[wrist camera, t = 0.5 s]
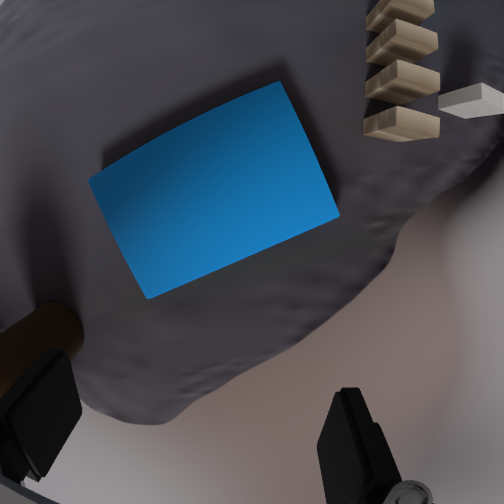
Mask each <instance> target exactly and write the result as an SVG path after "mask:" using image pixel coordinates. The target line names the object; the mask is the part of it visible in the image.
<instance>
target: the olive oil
mask: <svg viewBox="0 0 504 504" xmlns="http://www.w3.org/2000/svg"><path fill="white" fill-rule="evenodd" d="M83 342H84V334H83V330H82V327H81V325H80V323H79V321H78V319H77V318H76V316H75V315H74V314H73V313H72V312H71V311H70V310H69V309H68V308H67V307H65V306H64V305H62V304H60V303H57V302H47V303H45V304H43V305H42V306H40V307H39V308H37V309H36V310H34V311H33V312H32V313H30V314H29V315H27V316H26V317H24V318H23V319H21V320H20V321H18V322H17V323H15V324H14V325H12V326H11V327H10V328H8V329H7V330H5V331H4V332H2V333H1V334H0V398H1V397H2V396H3V394H4V393H5V392H6V391H7V390H8V389H9V388H10V387H11V386H12V385H13V384H14V382H15V381H16V380H17V379H18V378H19V377H20V376H21V375H22V374H23V373H24V372H25V371H26V370H27V369H28V368H29V367H30V366H31V365H32V364H33V362H34V361H35V360H36V359H37V358H38V357H39V356H40V355H41V354H42V353H43V352H44V351H45V350H46V349H47V348H48V347H50V346H52V347H56V348H59V349H63V350H65V352H66V354H67V355H68V356H69V358H70V362H71V361H72V359H73V358H74V357H75V355H76V354H77V353H78V352H79V350H80V349H81V347H82V345H83Z"/></svg>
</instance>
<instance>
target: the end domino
mask: <svg viewBox="0 0 504 504" xmlns="http://www.w3.org/2000/svg"><path fill="white" fill-rule="evenodd" d="M438 109H439V110H442V111H445V112H448V113H451V114H454V115H456V116H459V117H462V118H465V119H467V118H473V117H480V116H487V115H494V114H502V113H504V94H503V93H501V92H499V91H497V90H495V89H493V88H491V87H489V86H487V85H485V84H483V83H478V84H475V85H471V86H468V87H465V88H461V89H458V90H455V91H452V92H449V93H445V94H442V95H439V96H438Z"/></svg>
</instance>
